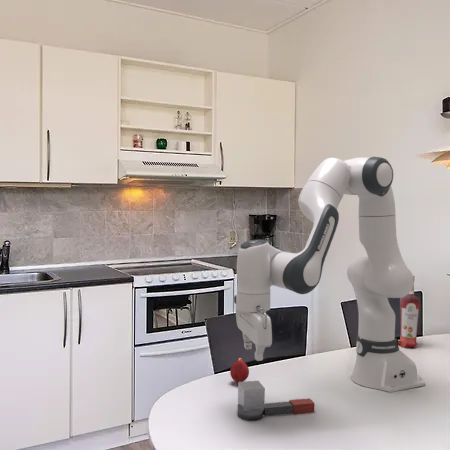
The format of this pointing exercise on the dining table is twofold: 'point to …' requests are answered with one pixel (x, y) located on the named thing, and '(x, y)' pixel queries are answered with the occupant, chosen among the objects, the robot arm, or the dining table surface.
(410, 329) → the liquor
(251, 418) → the ratchet
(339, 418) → the dining table surface
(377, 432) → the dining table surface
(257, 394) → the gray cube
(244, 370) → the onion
